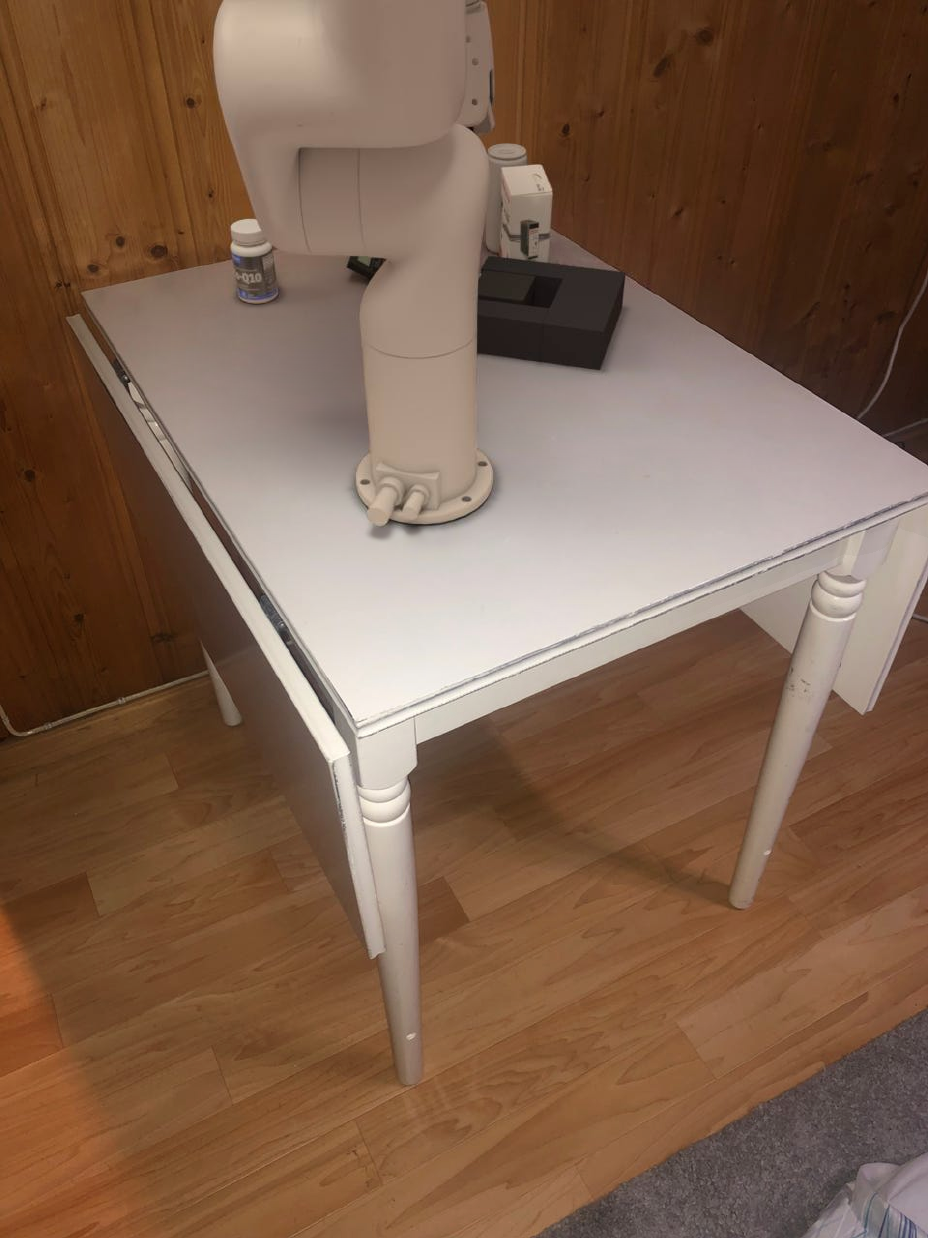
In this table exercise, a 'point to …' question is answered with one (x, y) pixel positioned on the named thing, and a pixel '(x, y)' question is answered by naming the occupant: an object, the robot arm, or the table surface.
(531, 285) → the black block
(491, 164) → the beverage can
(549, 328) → the base pad
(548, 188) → the ink box
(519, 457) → the table surface
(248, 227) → the pill bottle
